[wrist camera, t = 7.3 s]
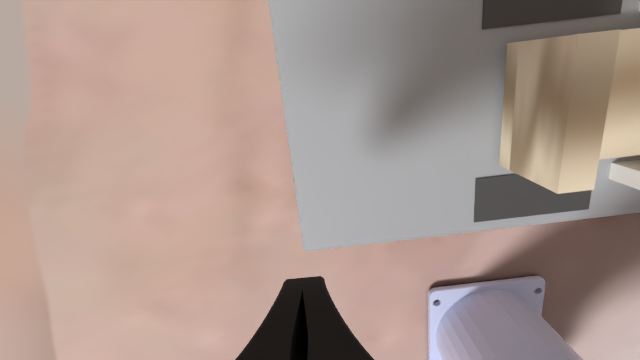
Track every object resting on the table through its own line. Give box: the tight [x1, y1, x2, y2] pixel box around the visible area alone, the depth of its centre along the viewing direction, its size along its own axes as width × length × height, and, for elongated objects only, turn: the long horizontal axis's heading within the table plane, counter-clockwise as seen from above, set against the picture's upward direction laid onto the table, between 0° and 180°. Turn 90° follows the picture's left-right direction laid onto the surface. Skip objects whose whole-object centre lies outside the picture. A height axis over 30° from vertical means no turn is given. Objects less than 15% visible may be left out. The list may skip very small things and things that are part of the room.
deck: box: [269, 0, 640, 252], centre depth 19 cm, size 15×34×1 cm, turn 96°
